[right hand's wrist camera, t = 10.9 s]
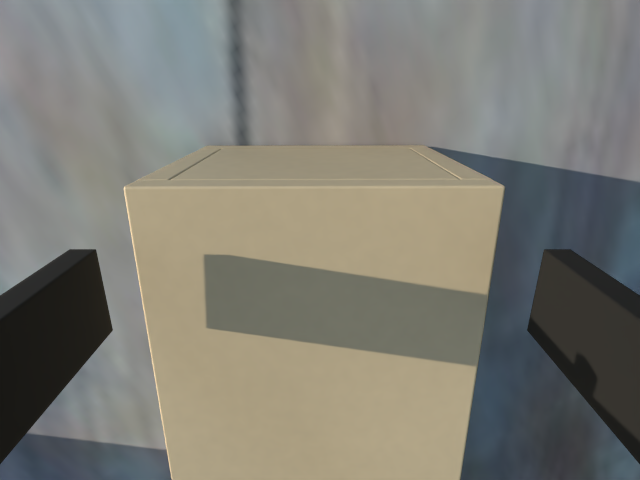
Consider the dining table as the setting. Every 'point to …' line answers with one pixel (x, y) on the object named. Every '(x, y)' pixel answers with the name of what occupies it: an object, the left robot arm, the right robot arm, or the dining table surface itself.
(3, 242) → the dining table surface
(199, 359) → the cabinet
